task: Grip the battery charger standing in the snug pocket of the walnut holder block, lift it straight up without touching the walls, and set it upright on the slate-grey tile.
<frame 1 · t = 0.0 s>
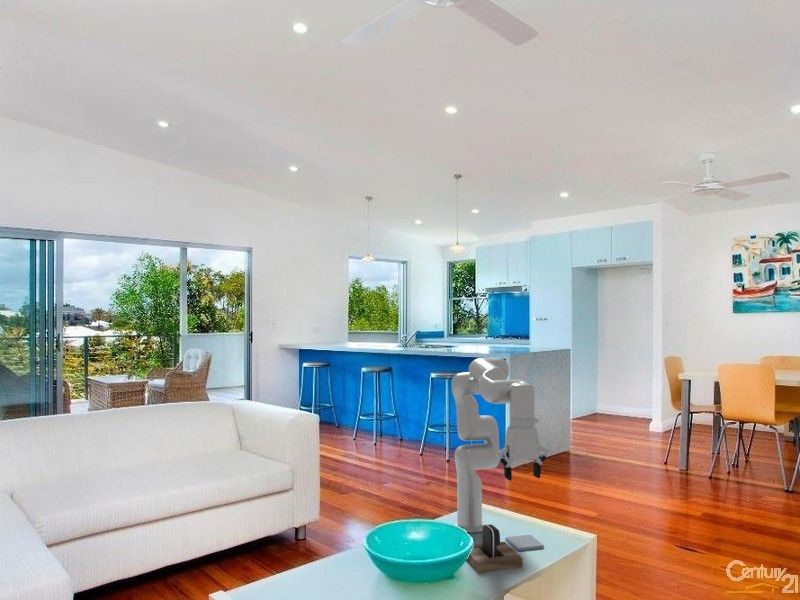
hand: (522, 478, 177), 31 cm above the table, tool pointing down, fingers open, 9 cm apart
tile: (524, 544, 203), on the table
battery charger: (491, 561, 189), resting in holder
holder: (491, 560, 189), on the table
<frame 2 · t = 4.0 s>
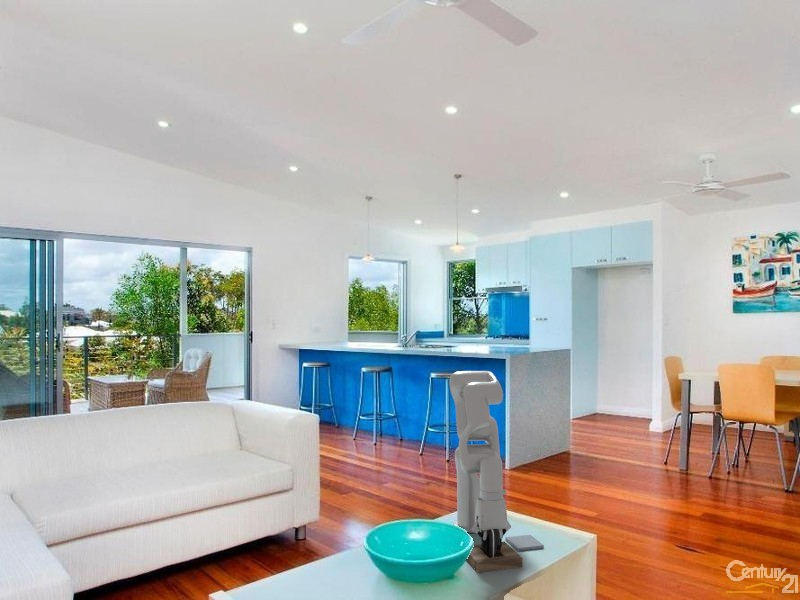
hand: (491, 549, 190), 4 cm above the table, tool pointing down, fingers closed on battery charger, 3 cm apart
battery charger: (491, 561, 189), resting in holder, touching gripper
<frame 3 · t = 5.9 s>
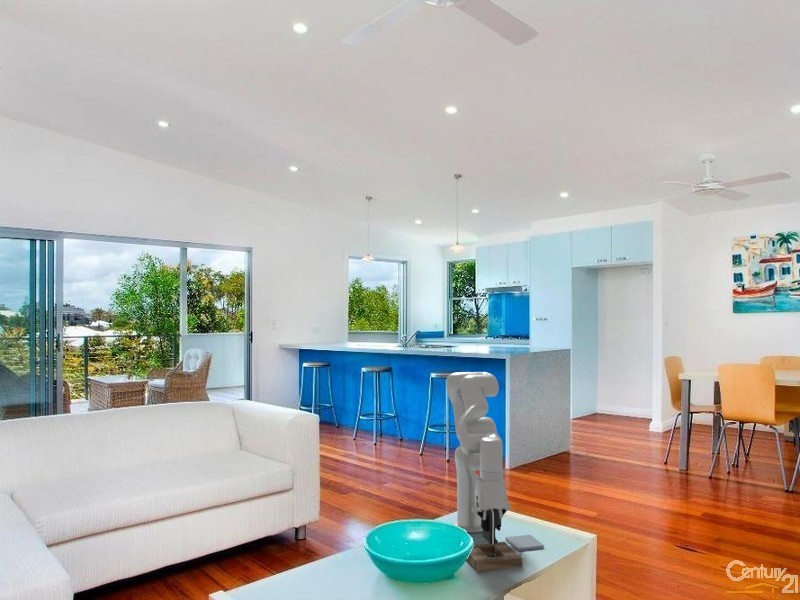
hand: (491, 529, 190), 10 cm above the table, tool pointing down, fingers closed on battery charger, 3 cm apart
battery charger: (491, 541, 190), point 6 cm above the table, touching gripper
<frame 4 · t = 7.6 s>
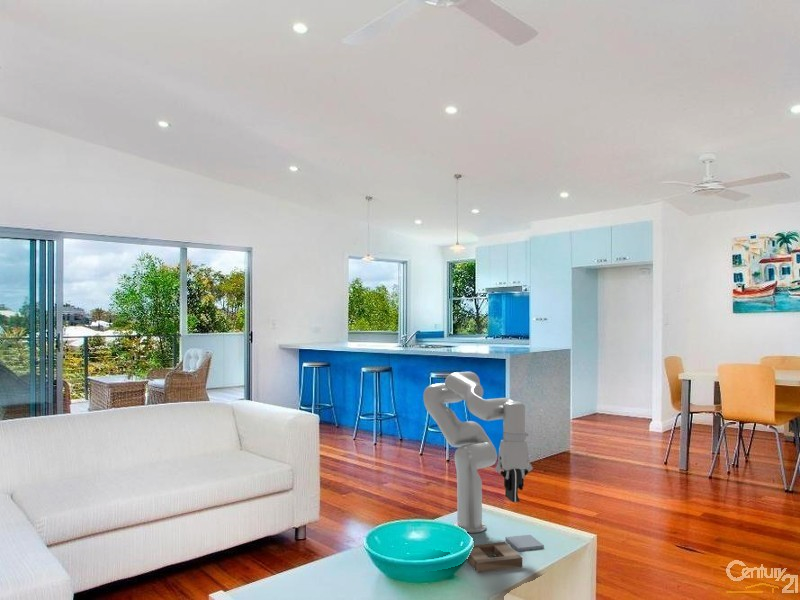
hand: (513, 488, 200), 21 cm above the table, tool pointing down, fingers closed on battery charger, 3 cm apart
battery charger: (513, 500, 200), point 17 cm above the table, touching gripper
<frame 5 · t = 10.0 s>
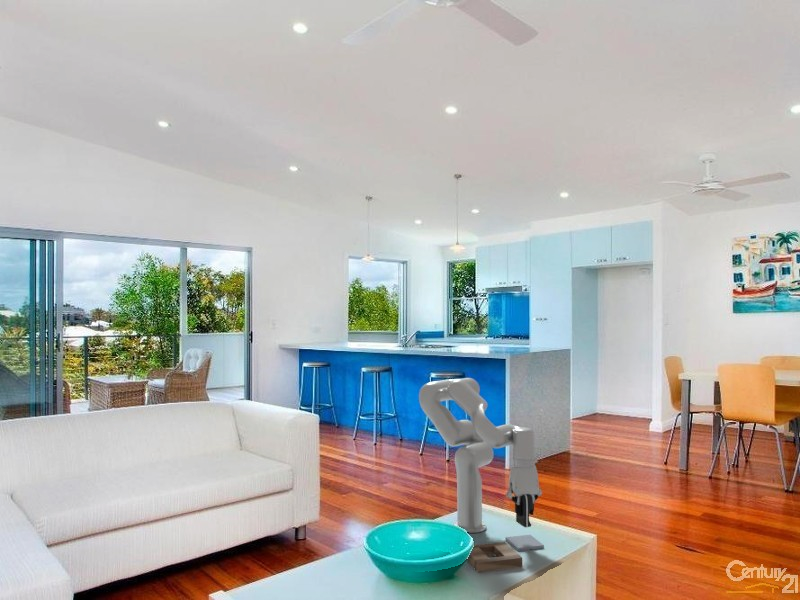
hand: (524, 513, 204), 11 cm above the table, tool pointing down, fingers closed on battery charger, 3 cm apart
battery charger: (525, 525, 203), point 7 cm above the table, touching gripper
when the fingers open (6 cm above the table, at t = 11.7 s): battery charger stays where it is, resting on tile.
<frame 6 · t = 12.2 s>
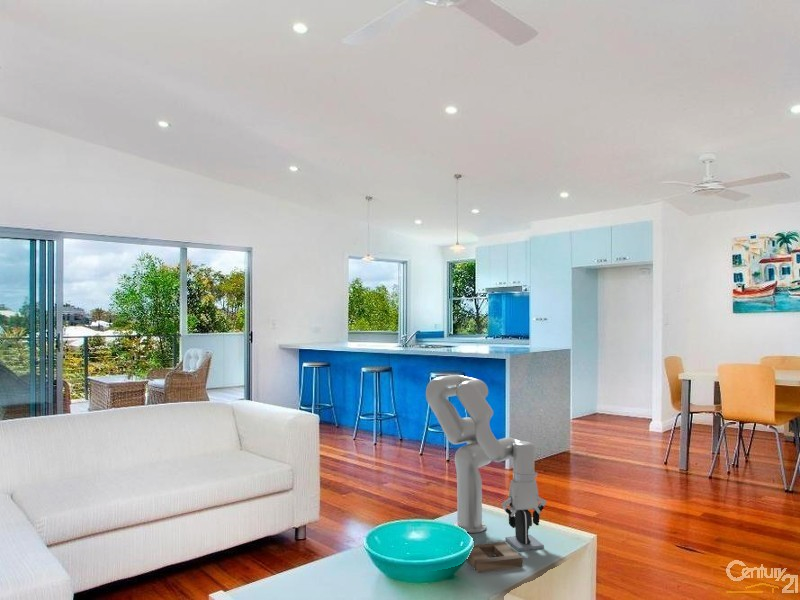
hand: (524, 525, 204), 7 cm above the table, tool pointing down, fingers open, 8 cm apart
battery charger: (524, 541, 204), point 1 cm above the table, touching tile
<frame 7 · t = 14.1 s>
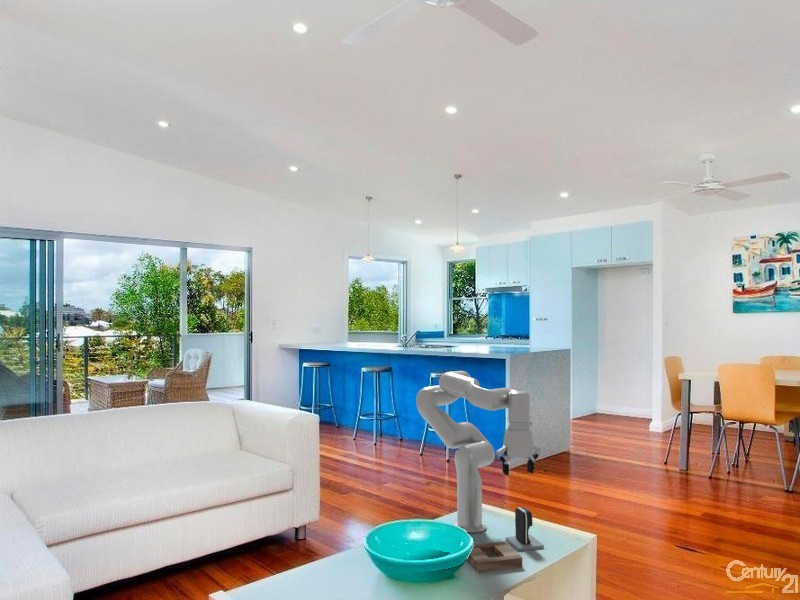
hand: (518, 473, 204), 25 cm above the table, tool pointing down, fingers open, 9 cm apart
nothing on the table moved.
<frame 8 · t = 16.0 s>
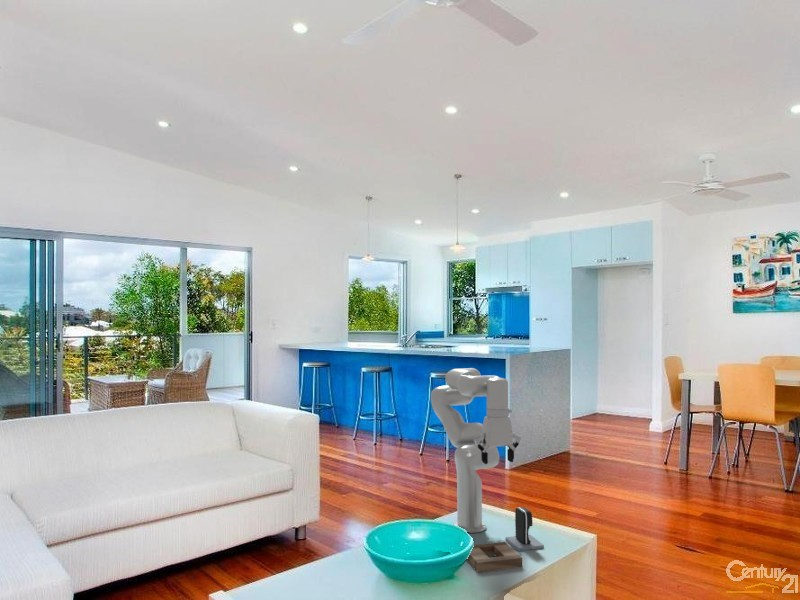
hand: (497, 462, 200), 30 cm above the table, tool pointing down, fingers open, 9 cm apart
nothing on the table moved.
at the end: battery charger inside the target area on the tile (0.2 cm from its centre), point 0.8 cm above the tile's base; battery charger tilted 0°; the gripper is holding nothing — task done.
